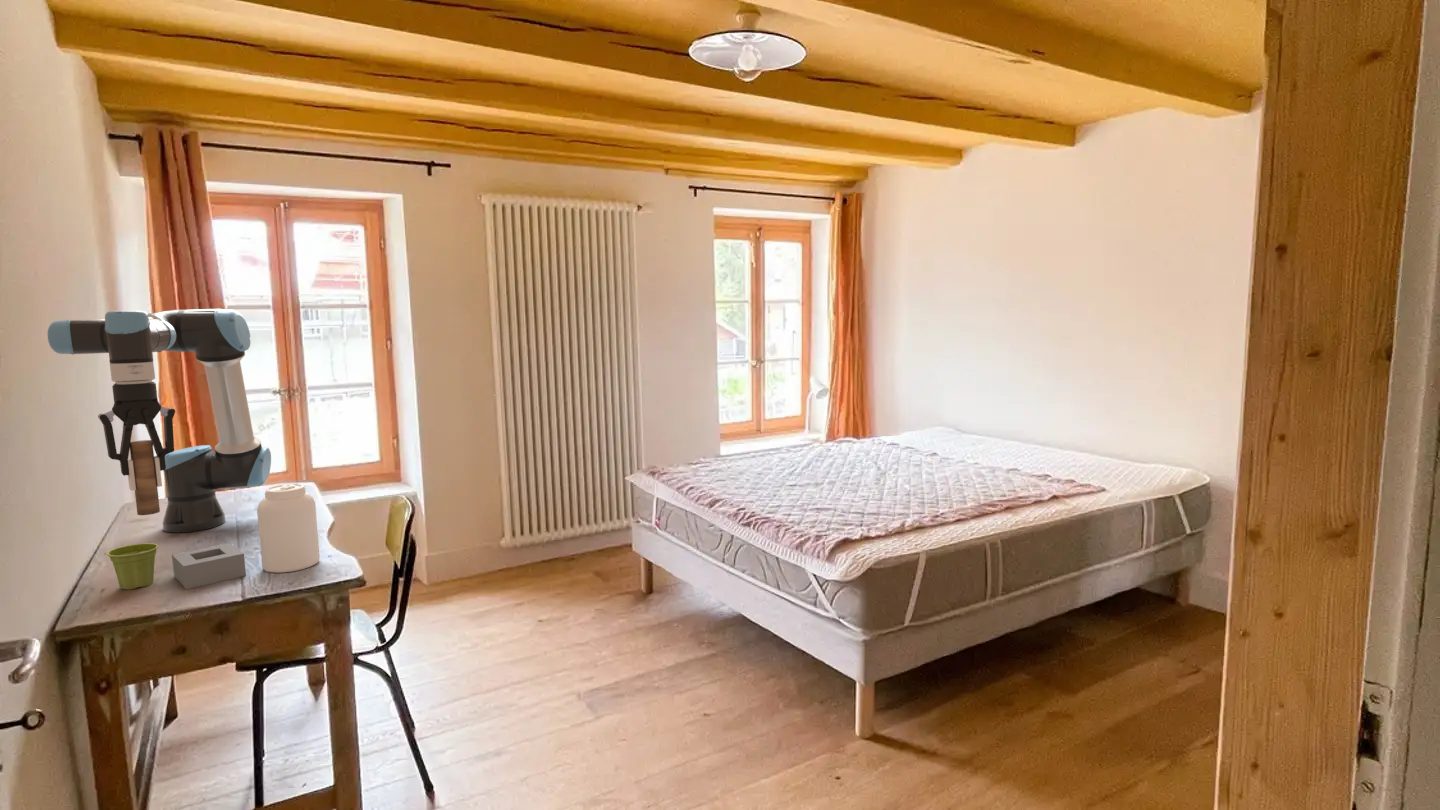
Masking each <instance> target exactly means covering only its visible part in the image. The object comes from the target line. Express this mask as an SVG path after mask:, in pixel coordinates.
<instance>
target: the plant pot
mask: <svg viewBox="0 0 1440 810" xmlns="http://www.w3.org/2000/svg"><path fill="white" fill-rule="evenodd" d="M158 548H159V544H157V543H151V542H149V543H148V542H147V543H146V542H145V543H144V542H141V543H136V544H129V545H123V546H121V547H120V546H119V547H116V548H113V549H111V550H109V551H107V552H106V555H107V556H108V557H109V559H110V561H111V562H112V565H113V568H114V572H115V575H116V578H117V582H118V585H119V587H120V589H122V590H135V589H137V588H140V587H143V588H145V587H147V586H150V585H152V584H153V583H154V576H155V575H154V573H155V561H156V560H155V559H156V554H157V549H158Z"/></svg>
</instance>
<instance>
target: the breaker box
mask: <svg viewBox="0 0 1440 810" xmlns="http://www.w3.org/2000/svg"><path fill="white" fill-rule="evenodd" d="M171 558H172V568H173V569H172V571H173V577H174V578H175V580H177V581H178V582H179V584H180V585H181V586H182V587H183V588H184V589H185V590H190V589H194V588H198V587H203V586H207V585H210V584H215V583H220V582H225V581H229V580H232V579H237V578H242V577H246V576H247V571H246V561H245V552H244V551H243V552H242V551H241V550H240V549H239V548H237V546H235V545H233V544H232V543H230V542H229V543H228V542H227V543H223V544H222V543H221V544H217V545H213V546H209V547H203V548H198V549H194V550H188V551H183V552H178V553H174V554H171Z"/></svg>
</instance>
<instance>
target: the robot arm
mask: <svg viewBox="0 0 1440 810" xmlns="http://www.w3.org/2000/svg"><path fill="white" fill-rule="evenodd" d="M47 342H48V344H49V346H50V349H52V351H53V352H55V353H57V354H60V355H72V356H73V355H84V354H85V355H86V354H87V355H88V354H108V358H109V368H110V376H111V377H110V379H111V381H112V382H114V383H113V384H112V394H113V406H112V408H111V410H110V411H107V412H104V413H99V414H98V416H97V418H98V419H99V421H100V422H101V424H102V426H103V432H104V433H103V434H104V439H105V444H106V450H107V456H108V457H109V458H110V460H116V461H119V463H120V464H119V465H120V473H121V474H122V475H123V476H127V479H128V487H129V488H128V489H129V490H130V491H135V490H136V485H135V476H134V468H133V461H132V460H131V458H129V454H130V442H132V440H131V439H132V434H133V429H134V426H137V425H145V428H146V430H147V433H148V436H149V438H150V439H149V440H152V443H153V450H154V453H155V454H156V455H154V462H155V471H156V480H157V488H158V487H163V482H162V475H161V473H162V471H163V472H164V479H165V481H164V482H165V489H166V495H167V496H166V497H167V507H166V510H165V513H164V516H163V519H162V529H163V532H167V533H189V532H196V531H197V532H198V531H202V530H206V529H207V530H208V529H212V528H215V527H217V526H220V525H223V524H225V522H226V515H225V512H224V510H223V508H222V506H221V505H220V503H219V501H218V499H217V495H216V490H226V489H229V490H230V489H245V488H247V489H249V488H255V487H261V486H263V485H265V484H266V482H267V480H268V478H269V476H270V471H271V466H272V453H271V450H270V448H269V447H266V446H262V442H261V440H260V439H259V438H258V437H256V436H254V431H253V426H252V419H251V415H250V410H249V404H248V397H247V393H246V387H245V382H244V376H243V375H244V374H243V370H242V365H241V364H242V363H241V361H242V359H243V358H244V357H245V355H246V352H245V351H248V350H249V349H250V347H251V333H250V329H249V325H248V323H247V321H246V319H245V317H244V316H243V315H242V314H241V313H240V312H239V311H238V310H235V309H225V308H224V309H223V308H203V309H202V308H200V309H199V308H198V309H197V308H196V309H195V308H194V309H170V310H164V311H156V312H150V313H148V312H146V311H145V310H109V311H107V312H106V313H105V314H104V318H100V319H99V318H98V319H66V320H55V321H53V322H52V323H50V324H49V326H48V329H47ZM163 351H165V352H177V353H178V352H179V353H194V355H195V359H196V361H197V362H199V363H201V364H202V365H203V366H204V370H205V375H206V381H207V386H208V392H209V395H210V396H209V397H210V399H211V404H212V405H211V407H212V410H213V414H214V421H215V426H216V430H217V435H218V440H219V442H218V443H217V444H216V445H215V446H214V450H213V447H212V446H211V445H209V444H207V445H206V444H203V445H202V444H201V445H195V446H189V447H185V448H180V449H176V450H175V441H174V440H175V439H174V421H173V420H174V417H175V414H176V410H175V409H174V408H171V407H165V406H162V404H161V403H160V402H159V399H158V391H157V384H156V383H155V382H154V381H153V380H155V379H156V372H155V366H154V365H155V364H154V355H153V353H161V352H163ZM159 413H161V416H162V417H163V429H164V431H163V432H164V434H163V435H164V448H163V445H162V442H161V440H160V436H159V434H158V431H157V428H156V425H155V423H154V419H155V418H156V416H157V415H158V414H159ZM114 416H116V417H117V418H118V419H120V420H121V421H122V433H121V440H120V449H119V453H117V452H118V451H117V446H116V440H115V434H114V428H113V425H112V423H113V422H114Z"/></svg>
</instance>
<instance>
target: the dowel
mask: <svg viewBox="0 0 1440 810" xmlns="http://www.w3.org/2000/svg"><path fill="white" fill-rule="evenodd" d="M154 453H155V451H154V447H153V443H152V440H151V439H144V440H143V439H142V440H134V441H131V442H130V449H129V454H130V459H131V460H132V461H133V468H134V476H135V485H136V490H134V497H135V505H136V514H137V515H138V516H149V515H154V514H158V513H160V512H161V509H160V500H159V491H158V486H157V480H156V471H155V462H154V456H155V454H154Z"/></svg>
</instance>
